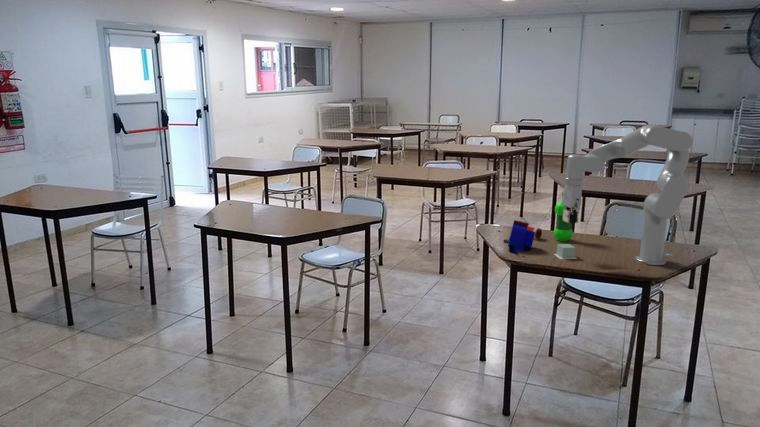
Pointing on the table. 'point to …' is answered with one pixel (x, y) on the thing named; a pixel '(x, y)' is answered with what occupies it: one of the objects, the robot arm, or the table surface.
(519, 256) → the table surface
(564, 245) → the sage block
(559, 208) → the plastic bottle
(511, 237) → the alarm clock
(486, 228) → the table surface
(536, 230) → the toy hammer
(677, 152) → the robot arm
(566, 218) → the maple cube
